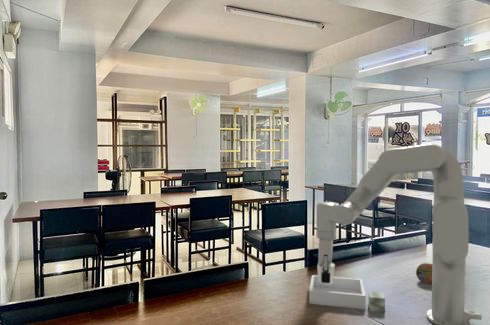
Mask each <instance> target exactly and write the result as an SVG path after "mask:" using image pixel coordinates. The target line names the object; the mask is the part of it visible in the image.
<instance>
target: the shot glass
mask: <svg viewBox="0 0 490 325" xmlns="http://www.w3.org/2000/svg"><path fill="white" fill-rule="evenodd" d="M316 264H317V266H316V267H317V268H316V269H317V276H318V281H319V282H320V283H322V282H321V272H322V264H320V265H319V264H318V262H317V263H316ZM323 264H324V263H323ZM327 264H328V265H329V262H328V263H327ZM327 267H328V266H327ZM335 268H336V264H335V263H334V262H332V263H331V265H330V266H329V273H330V283H322V284H332V283H333V279H334V277H335Z"/></svg>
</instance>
